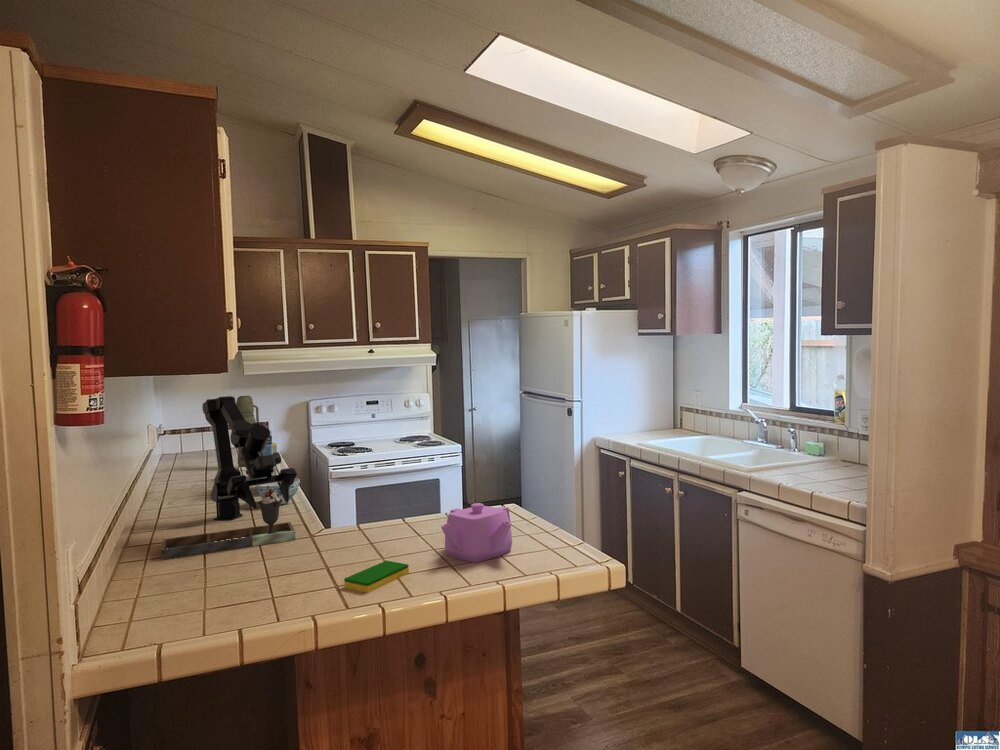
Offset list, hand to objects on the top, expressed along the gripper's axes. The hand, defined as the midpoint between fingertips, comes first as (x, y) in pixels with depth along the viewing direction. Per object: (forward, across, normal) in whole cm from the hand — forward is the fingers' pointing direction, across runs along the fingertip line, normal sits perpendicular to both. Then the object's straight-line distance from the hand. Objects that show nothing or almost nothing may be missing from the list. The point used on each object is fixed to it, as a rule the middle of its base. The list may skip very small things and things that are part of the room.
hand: (272, 504), depth 179 cm
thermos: (-86, +42, +100) cm, 138 cm away
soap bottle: (-63, +36, +77) cm, 106 cm away
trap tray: (+4, -10, +10) cm, 15 cm away
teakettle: (+46, +30, -31) cm, 63 cm away
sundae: (+6, 0, +8) cm, 10 cm away
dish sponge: (+44, +2, -29) cm, 53 cm away
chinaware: (-24, +20, +38) cm, 50 cm away
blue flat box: (-42, +27, +56) cm, 75 cm away
